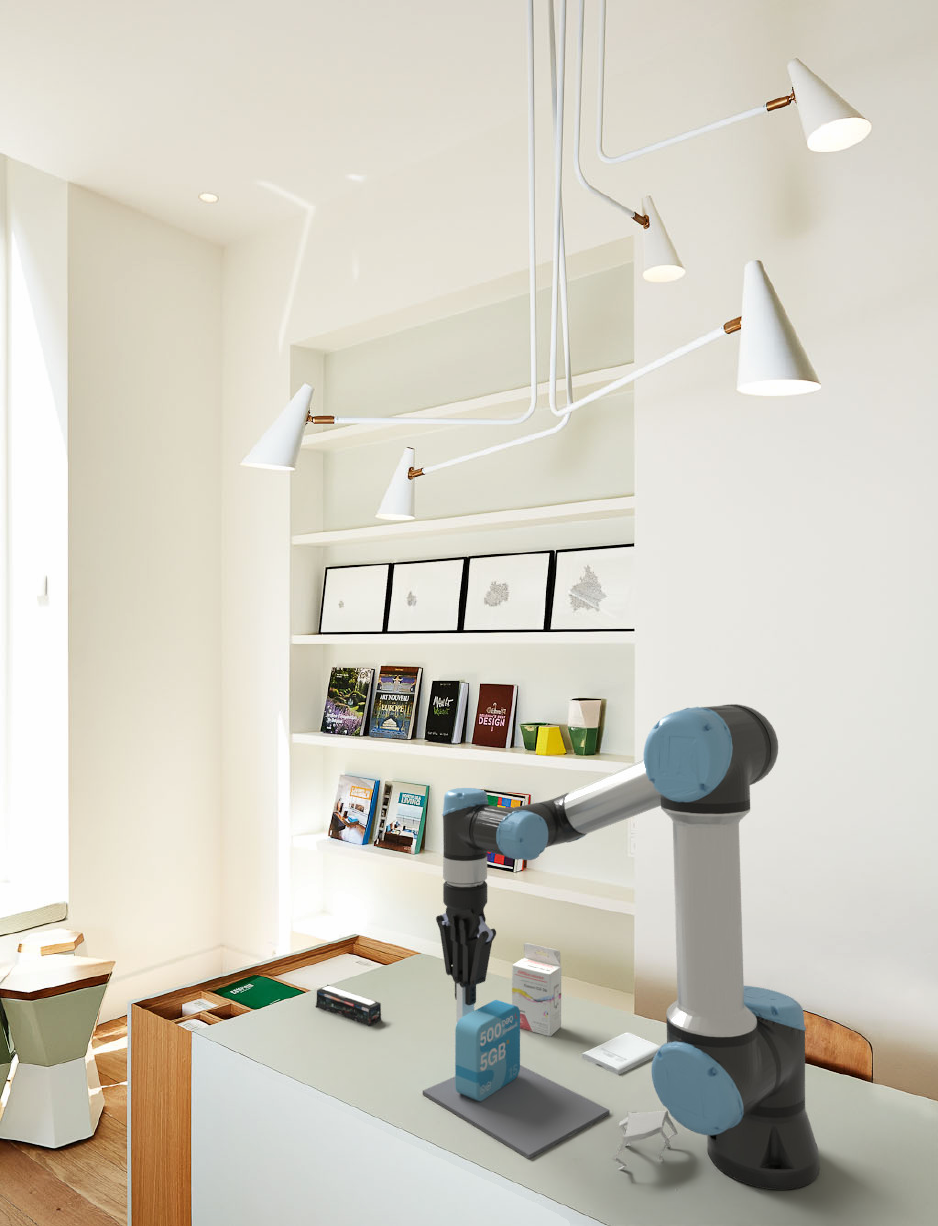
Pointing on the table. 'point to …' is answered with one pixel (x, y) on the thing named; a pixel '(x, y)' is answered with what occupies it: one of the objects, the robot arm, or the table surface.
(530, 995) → the ink cartridge box
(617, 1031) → the table surface
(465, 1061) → the data package
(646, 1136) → the origami figure
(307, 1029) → the table surface
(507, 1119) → the mat
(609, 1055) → the external hard drive
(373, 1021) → the bus
